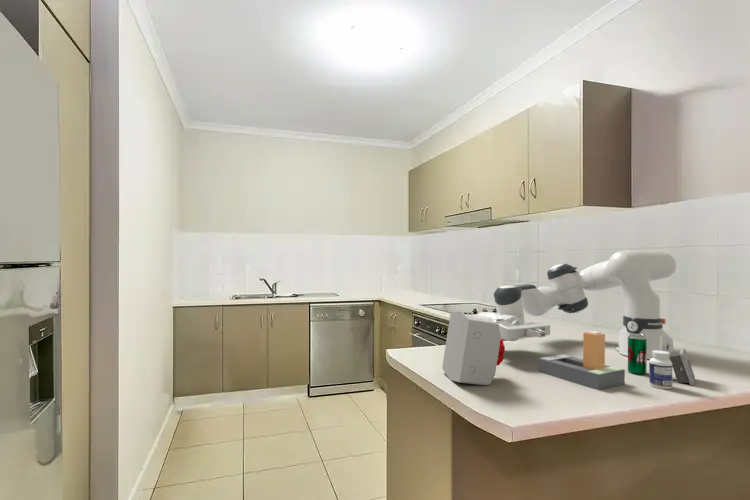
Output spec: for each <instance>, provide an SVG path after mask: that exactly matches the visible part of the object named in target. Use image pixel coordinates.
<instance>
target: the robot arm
mask: <svg viewBox="0 0 750 500" xmlns="http://www.w3.org/2000/svg"><path fill="white" fill-rule="evenodd" d="M577 269H578V268H577V267H576V266H575V267H574V266H573V265H572V264H568V263H559V264H555V265H553V266H552V267H550V268H549V270H547V279H548V280H549V283H550V286H547V285H546V286H545V285H544V286H542V285H541V286H539V287H537V286H536V285H535V284H532V283H531V284H530V283H529V284H528V283H527V284H524V283H523V284H515V285H512V284H511V285H508V284H507V285H501V286H499V287H497V288H496V289H495V291H494V293H493V297H494V302H495V306H496V307H495V308H496V312H494V311H492V312H491V311H481V312H479V313H477V315H476V316H478V317H481V318H484V319H486V320H489V321H492V322H495V323H497V324H499V329H500V334H501V338H502V340H504V341H511V342H515V341H518V340H519V339H526V338H544V337H547V336H550V335H551V325H550V324H548V323H541V322H533V321H532V322H526V321H525V315H524V312H526V313H527V314H528V315H531V316H533V317H538V316H543V315H545V314H547V313H548V312H549V311H551V309H553V308H554V307H556V306H558V307H557V310H561V311H563V312H565V313H567V314H578V313H581V312H583V311H584V310H585V309H586V308H587V307H588V306H589V301H588V298H587V296H586V294H585V291H588V292H589V291H590V292H591V291H603V290H607V289H612V288H616V287H621V290H622V293H623V299H624V300H623V301H624V302H623V303H624V307H623V308H624V314H623V316H622V326H623V327H622V328H621V329H620V331H619V340H618V346H616V347H615V351H617V352H619V354H621V355H624V356H626V357H628V336H629V334H642V335H645V337H646V339H647V360H650V359H651V358H653V356H652V351H654V350H659V351H666V352H669V355H670V353H671V352H676V351H677V350H674V340H673V338H672V337H671V336H670V335H669V334H668V333H667V332H666V331H665V330H664V329H663V325H665V324H666V323H667V319H666V318H662V317H661V318H660V314H661V313H660V310H661V309H660V306H661V303H660V302H661V301H660V297H659V295H658V294H657V293H656V292H654V290H653V289H652V287H651V285H650V282H652V281H659V280H661V279H665V278H666V279H667V278H669V277H671V276H672V275H673V274H674V273H675V272H676V269H677V263H676V259H675V258H674V257H673V255H671V254H669V253H667V252H664V251H659V250H643V249H641V250H640V249H626V250H620V251H617V252H614V253H613V254H612V255H611V256H610V257H609V259H607V260H603V261H600V262H598V263H595V264H592V265H590V266H588V267H586V268H584V269H582V270H578V271H577ZM584 290H585V291H584ZM671 357H672V356H671ZM668 360H670V358H668Z"/></svg>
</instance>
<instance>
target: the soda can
mask: <svg viewBox="0 0 750 500" xmlns="http://www.w3.org/2000/svg"><path fill="white" fill-rule="evenodd" d="M647 361H648V359H647V339H646V337H645V335H642V334H629V336H628V356H627V372H628V373H630V374H633V375H638V376H640V375H641V376H643V375H646V374H647V372H648V371H647V369H648V368H647V366H648V365H647V364H648V363H647Z"/></svg>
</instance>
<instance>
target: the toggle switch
mask: <svg viewBox="0 0 750 500" xmlns="http://www.w3.org/2000/svg"><path fill="white" fill-rule="evenodd" d="M537 359H538V360H537V361H538V363H537V365H538V368H537V371H538V372H539V373H542V374H545V375H549V376H552V377H556V378H559V379H562V380H564V381H565V380H566V381H569V382H571V383H575V384H579V385H582V386H586V387H588V388H590V389H591V388H592V389H594V390H597V391H599V390H604V389H609V388H611V387H612V388H613V387H617V386H620V385H625V383H626V382H625V377H626V374H625V373H626V372H625V369H623V368H620V367H615V366H612V365H611V366H610V365H608V364H607V365H606V364H605V368H602V369H596V370H591V369H587V368H584V367H583V359H582V358H578V357H575V356H572V355H567V354H557V355H552V356H551V355H550V356H543V357H539V358H537Z"/></svg>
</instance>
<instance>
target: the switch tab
mask: <svg viewBox="0 0 750 500" xmlns="http://www.w3.org/2000/svg"><path fill="white" fill-rule="evenodd" d="M582 336H583V337H582V338H583V340H582V341H583V344H582V350H583V351H582V355H583V356H582V357H583V367H584V368H587V369H591V370H596V369H602V368H605V365H606V355H605V354H606V353H605V352H606V334H605V333H601V332H599V331H596V330H595V331H594V330H588V331H587V332H583V334H582Z"/></svg>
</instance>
